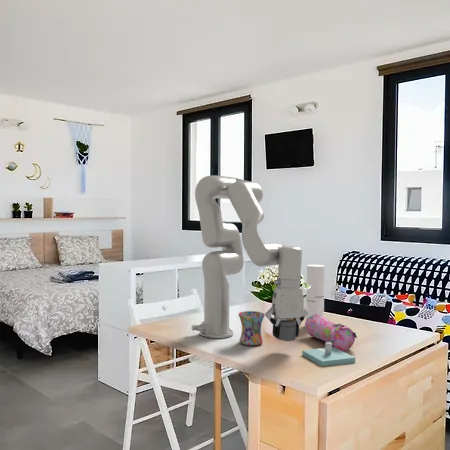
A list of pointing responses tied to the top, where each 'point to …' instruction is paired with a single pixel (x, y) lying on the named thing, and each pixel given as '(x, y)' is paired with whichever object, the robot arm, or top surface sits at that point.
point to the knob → (287, 330)
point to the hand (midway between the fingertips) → (285, 335)
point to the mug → (251, 327)
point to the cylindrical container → (315, 290)
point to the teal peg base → (328, 355)
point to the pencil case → (330, 332)
